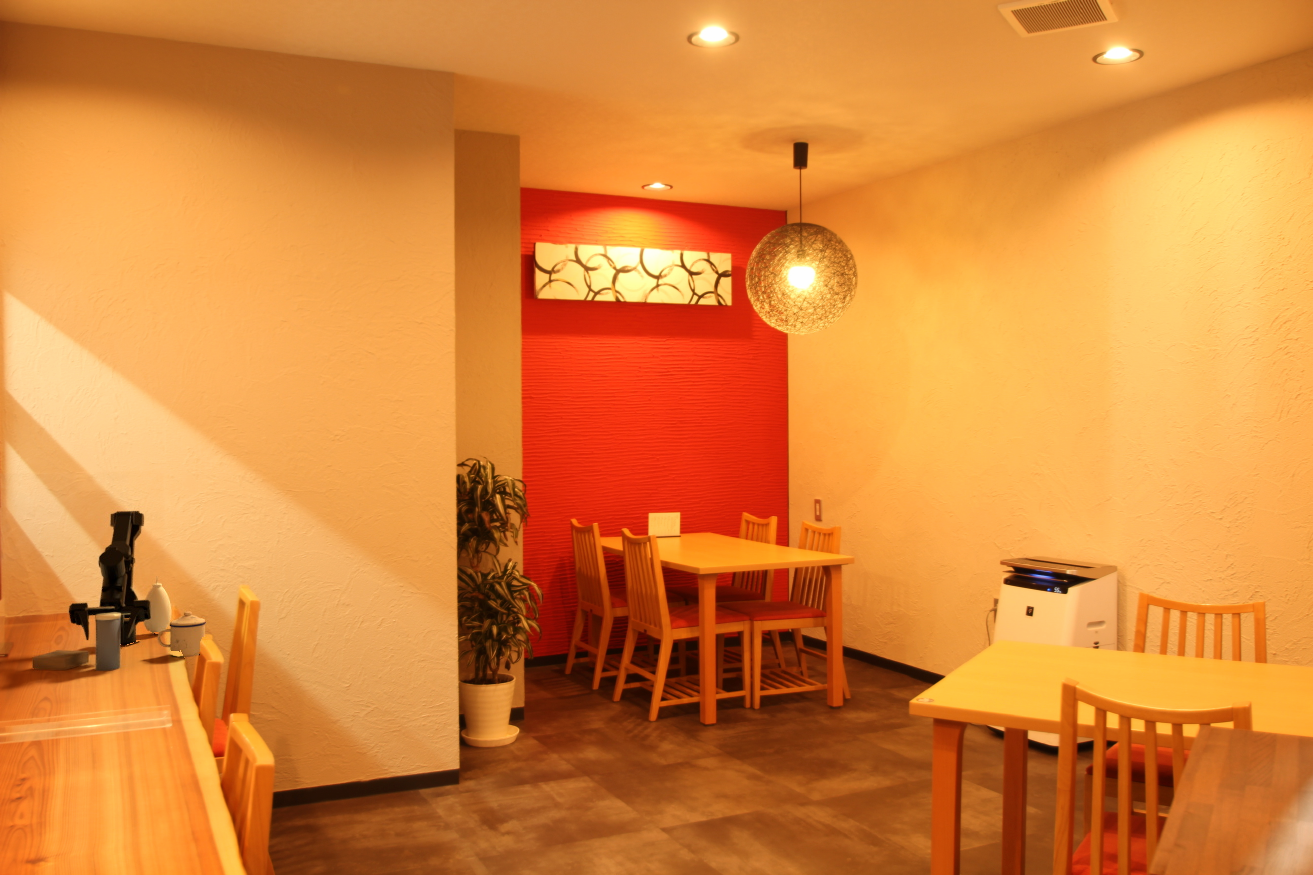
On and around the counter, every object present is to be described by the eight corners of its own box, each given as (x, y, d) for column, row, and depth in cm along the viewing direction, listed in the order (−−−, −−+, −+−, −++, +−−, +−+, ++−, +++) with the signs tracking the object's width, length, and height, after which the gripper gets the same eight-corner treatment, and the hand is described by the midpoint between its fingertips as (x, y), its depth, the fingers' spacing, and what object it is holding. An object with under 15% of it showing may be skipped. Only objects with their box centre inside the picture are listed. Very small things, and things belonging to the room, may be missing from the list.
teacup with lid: (204, 649, 280) (204, 608, 280) (206, 655, 272) (206, 613, 272) (157, 653, 274) (157, 611, 274) (157, 659, 266) (157, 616, 266)
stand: (57, 661, 264) (57, 649, 264) (88, 662, 263) (88, 650, 263) (32, 668, 255) (32, 657, 255) (64, 669, 254) (64, 658, 254)
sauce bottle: (143, 632, 303) (143, 574, 303) (171, 630, 306) (171, 572, 306) (141, 637, 296) (142, 577, 296) (170, 635, 299) (171, 576, 299)
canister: (105, 665, 259) (105, 612, 259) (125, 666, 259) (125, 612, 259) (89, 670, 253) (90, 615, 254) (110, 671, 253) (111, 616, 253)
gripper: (154, 605, 274) (149, 653, 264) (77, 609, 267) (69, 658, 257) (151, 580, 267) (147, 628, 257) (72, 584, 260) (64, 633, 250)
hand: (107, 637), depth 255 cm, fingers open, 9 cm apart
